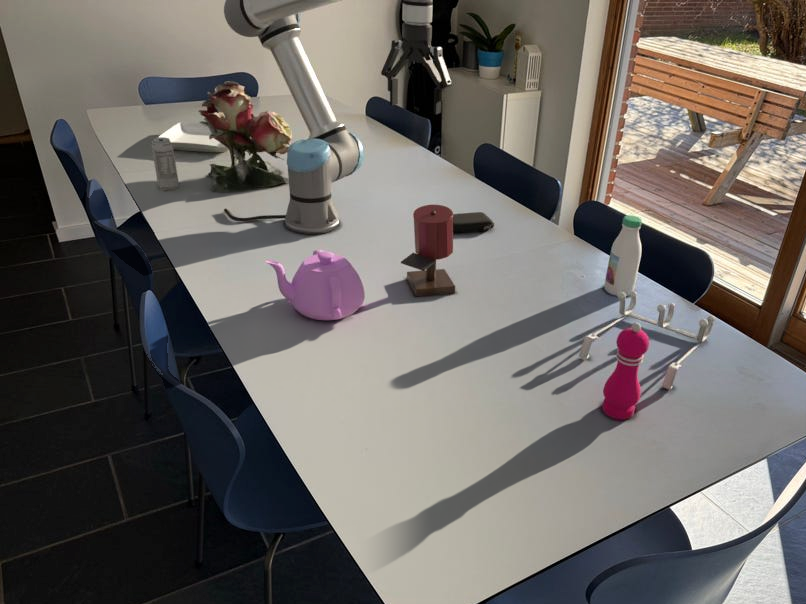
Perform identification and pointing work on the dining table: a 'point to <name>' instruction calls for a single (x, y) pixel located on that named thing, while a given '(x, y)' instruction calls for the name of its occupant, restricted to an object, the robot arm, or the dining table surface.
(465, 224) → the carrying case
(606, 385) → the pepper mill
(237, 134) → the rose bouquet
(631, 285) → the milk bottle
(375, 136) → the dining table surface
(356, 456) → the dining table surface
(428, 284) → the hat stand
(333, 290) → the teapot
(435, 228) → the cap
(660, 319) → the over door rack
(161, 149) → the energy drink can
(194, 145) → the square plate
